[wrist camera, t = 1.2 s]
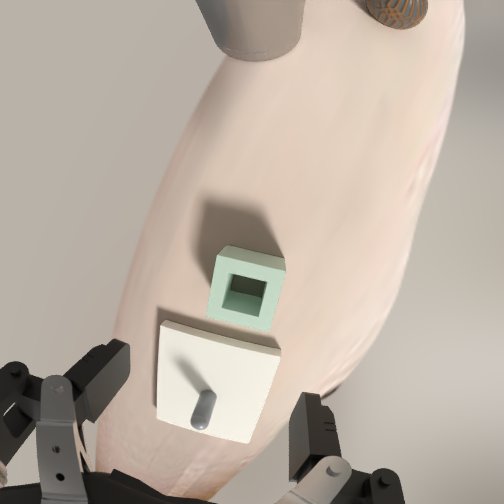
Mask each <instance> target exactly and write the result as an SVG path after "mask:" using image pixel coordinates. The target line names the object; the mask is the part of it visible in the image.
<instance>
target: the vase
mask: <svg viewBox="0 0 504 504" xmlns="http://www.w3.org/2000/svg"><path fill="white" fill-rule="evenodd" d="M366 4H367V7H368V9H369V11H370V13H371V14H372V15H373V16H374V17H375V18H376V19H377V20H378V21H379V22H381V23H382V24H384V25H386V26H388V27H391V28H394V29H409V28H412V27H414V26H416V25H418V24H419V23H420V22H421V21H422V20H423V19H424V17H425V15H426V13H427V9H428V1H427V0H366Z"/></svg>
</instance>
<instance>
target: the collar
mask: <svg viewBox="0 0 504 504" xmlns="http://www.w3.org/2000/svg"><path fill="white" fill-rule="evenodd" d="M285 273H286V267H285V258H281V257H277V256H272V255H268V254H264V253H260V252H255V251H251V250H247V249H243V248H239V247H234V246H230V245H226V246H225V247H224V248H223V249H222V250H221V251H220V252H219V253H218V254H217V258H216V263H215V268H214V273H213V279H212V284H211V290H210V295H209V301H208V306H207V312H206V317H209V318H213V319H217V320H220V321H224V322H228V323H232V324H236V325H240V326H244V327H248V328H253V329H257V330H261V331H266V332H269V331H270V327H271V324H272V320H273V317H274V313H275V310H276V306H277V303H278V299H279V295H280V292H281V288H282V284H283V281H284V277H285ZM234 274H236V275H241V276H245V277H249V278H253V279H257V280H261V281H266V283H265V287H264V291H263V295H262V298H261V297H257V296H252V295H248V294H244V293H240V292H236V291H232V290H230V289H231V285H232V280H233V275H234Z"/></svg>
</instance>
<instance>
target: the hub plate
mask: <svg viewBox="0 0 504 504" xmlns="http://www.w3.org/2000/svg"><path fill="white" fill-rule="evenodd" d="M280 358H281V349H276V348H272V347H267V346H262V345H258V344H254V343H249V342H245V341H241V340H237V339H233V338H229V337H225V336H221V335H217V334H213V333H210V332H206V331H203V330H199V329H195V328H192V327H189V326H185V325H182V324H178V323H175V322H172V321H169V320H165V321H164V322H163V323H162V324H161V325H160V338H159V353H158V375H157V419H159V420H162V421H165V422H168V423H171V424H174V425H177V426H180V427H183V428H186V429H190V430H193V431H196V432H200V433H204V434H207V435H211V436H215V437H219V438H223V439H228V440H232V441H237V442H242V443H247V444H249V441H250V439H251V436H252V434H253V431H254V429H255V426H256V424H257V421H258V419H259V416H260V414H261V411H262V408H263V406H264V403H265V400H266V398H267V395H268V392H269V390H270V387H271V384H272V381H273V378H274V376H275V373H276V370H277V367H278V364H279V361H280Z"/></svg>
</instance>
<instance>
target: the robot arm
mask: <svg viewBox="0 0 504 504" xmlns="http://www.w3.org/2000/svg"><path fill="white" fill-rule="evenodd" d="M196 2H197V4H198V6H199V8H200V10H201V13H202V15H203V17H204V19H205V21H206V23H207V25H208V28H209V30H210V32H211V34H212V36H213V38H214V41H215V43H216V44H217V46H218V47H219V48H220V49H221V50H222V51H223V52H224V53H226V54H227V55H229V56H231V57H233V58H236V59H239V60H244V61H256V62H257V61H267V60H271V59H275V58H277V57H280V56H282V55H284V54H286V53H287V52H289V51H290V50H291V49H292V48H293V47H294V46H295V45H296V44H297V42H298V40H299V39H300V34H301V27H302V19H303V13H304V4H305V0H196ZM129 374H130V346H129V344H127V343H125V342H122V341H120V340H117V339H113V340H111V341H110V342H109V343H108V344H107V345H106V346H105V345H103V344H101V345H99V346H96V347H94V348H92V349H91V350H90V351H89V352H88V353H87V355H85V356H84V357H82V359H80V360H79V361H78V362H77V363H76V364H75V365H74V366H73V367H71V368H70V369H69V370H68V371H67V372H66V373H65V374H64V375H63V376H60V375H51V376H48V377H47V378H45V379H42V378H39V377H36V376H33V375H30V374H29V370H28V368H27V366H26V365H25V364H23V363H21V362H18V361H14V362H9V363H7V364H6V365H5V366H4V367H2V368H1V369H0V504H216V503H212V502H207V501H203V500H199V499H193V498H181V497H172V496H166V495H163V494H161V493H160V492H158V491H156V490H155V489H153V488H151V487H150V486H148V485H146V484H145V483H143V482H142V481H140V480H139V479H136V478H134V477H131V476H129V475H127V474H125V473H122V472H120V471H118V470H116V469H113V471H112V473H111V474H110V473H105V472H93V469H92V466H91V463H90V459H89V455H88V451H87V446H86V440H85V435H84V428H83V422H84V421H85V420H86V419H87V420H89V421H91V422H92V423H94V422H95V421H96V420H97V419H98V417H99V416H100V415H101V413H102V412H103V411H104V409H105V408H106V407H107V405H108V404H109V403H110V401H111V400H112V399H113V397H114V396H115V395H116V394H117V392H118V391H119V390H120V388H121V387H122V386H123V384H124V383H125V382H126V381H127V379H128V377H129ZM14 402H15V404H14V405H13V407H12V408H11V409H10V410H9V411H8V412H7V413H6V414H5V415H4V413H5V412H6V410H7V409H8V408H9V407H10V406H11V405H12V404H13V403H14ZM3 415H4V416H3ZM35 427H36V442H37V443H36V444H37V458H38V469H39V477H40V482H39V483H33V484H26V485H18V486H8V487H4V485H5V484H6V483H7V470H6V466H7V464H8V463H9V461H10V460H11V459H12V457H13V456H14V455H15V453H16V452H17V451H18V449H19V448H20V447H21V445H22V444H23V443H24V441H25V440H26V439H27V438H28V436H29V435H30V434H31V433H32V431H33V430H34V429H35ZM289 482H297V485H296V486H295V487H294V488H293V489H292V490H291V491H289V492H288V493H286V494H285V495H284V496H283V497H282V498H281V499H280V500H279V501H277V502H276V503H275V504H405V501H404V496H403V492H402V487H401V483H400V480H399V477H398V475H397V474H396V473H395V472H394V471H392V470H390V469H386V468H381V469H377V470H376V471H374V472H373V473H372V474H368V473H364V472H360V471H356V470H354V469H352V468H351V466H350V464H349V463H348V462H347V461H346V460H345V459H343V458H342V457H341V450H340V445H339V440H338V435H337V432H336V425H335V419H334V415H333V413H332V411H331V410H330V409H329V407H328V406H323V405H321V400H320V395H319V394H314V393H307V392H302V393H301V395H300V397H299V399H298V402H297V404H296V406H295V408H294V410H293V412H292V414H291V417H290V421H289Z"/></svg>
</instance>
